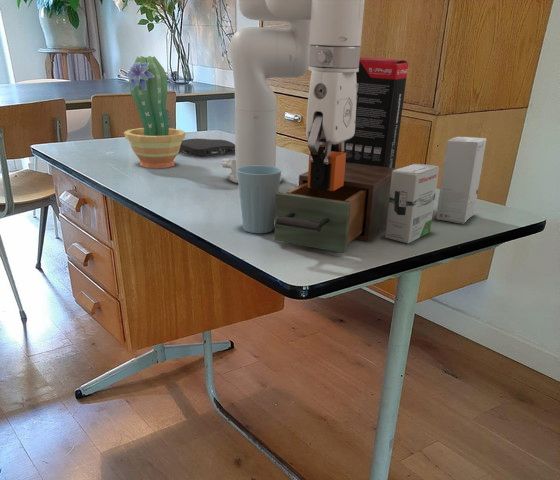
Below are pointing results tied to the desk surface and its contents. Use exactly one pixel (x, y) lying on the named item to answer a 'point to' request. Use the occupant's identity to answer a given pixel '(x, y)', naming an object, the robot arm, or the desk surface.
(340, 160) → the plain orange cube
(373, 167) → the cabinet
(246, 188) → the cup
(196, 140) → the media streaming box
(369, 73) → the graphics card box
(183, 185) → the desk surface
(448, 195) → the cosmetic box
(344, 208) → the two-tone handled box
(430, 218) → the ink box
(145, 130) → the potted cactus
